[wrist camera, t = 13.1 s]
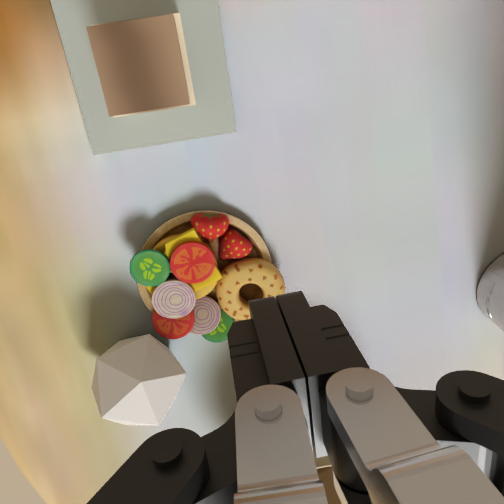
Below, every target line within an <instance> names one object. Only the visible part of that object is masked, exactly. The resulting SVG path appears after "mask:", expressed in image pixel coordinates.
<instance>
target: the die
mask: <svg viewBox="0 0 504 504" xmlns="http://www.w3.org/2000/svg"><path fill="white" fill-rule="evenodd" d="M185 375H186V372H185V371H184V369H183V368H182V366H181V365H180V363H179V362H178V361H177V359H176V358H175V356H174V355H173V353H172V352H171V351H170V349H169V348H167V347H166V346H165V345H164V344H162V343H161V342H160V341H158V340H157V339H156V338H154V337H153V336H152V335H150V334H147V335H142V336H138V337H133V338H129V339H124V340H120V341H118V342H117V343H116V344H115V345H113V346H112V347H111V348H110V349H108V350H107V351H106V352H105V353H104V354H102V355H101V356H100V357H99V358H97V360H96V366H95V372H94V377H93V383H92V390H93V393H94V396H95V399H96V402H97V405H98V408H99V412H100V415H101V418H104V419H107V420H111V421H114V422H118V423H121V424H124V425H160V423H161V421H162V420H163V418H164V417H165V415H166V413H167V412H168V410H169V409H170V407H171V405H172V404H173V402H174V400H175V399H176V396H177V394H178V392H179V389H180V387H181V385H182V382H183V380H184V378H185Z"/></svg>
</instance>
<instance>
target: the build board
mask: <svg viewBox="0 0 504 504" xmlns="http://www.w3.org/2000/svg"><path fill="white" fill-rule="evenodd" d="M50 1H51V4H52V8H53V12H54V15H55V19H56V22H57V26H58V30H59V33H60V37H61V40H62V44H63V48H64V51H65V55H66V58H67V62H68V65H69V69H70V73H71V76H72V80H73V83H74V87H75V91H76V94H77V98H78V101H79V105H80V109H81V112H82V116H83V119H84V123H85V126H86V130H87V134H88V137H89V141H90V144H91V148H92V152H93V155H97V154H103V153H109V152H115V151H122V150H128V149H134V148H140V147H147V146H153V145H159V144H165V143H172V142H178V141H184V140H190V139H197V138H203V137H209V136H215V135H222V134H228V133H234V132H237V130H236V123H235V116H234V109H233V102H232V95H231V88H230V81H229V75H228V68H227V61H226V54H225V47H224V40H223V33H222V26H221V20H220V13H219V6H218V0H50ZM173 13H180V17H181V23H182V28H183V34H184V40H185V45H186V51H187V57H188V62H189V68H190V73H191V79H192V85H193V90H194V96H195V102H196V105H191V106H185V107H179V108H172V109H166V110H159V111H153V112H146V113H140V114H133V115H127V116H120V117H114V118H113V116H111V117H109V114H108V110H107V106H106V102H105V98H104V94H103V90H102V86H101V83H100V79H99V75H98V71H97V67H96V63H95V59H94V55H93V52H92V48H91V44H90V40H89V36H88V32H87V28H86V27H87V26H90V25H95V24H102V23H109V22H116V21H123V20H130V19H138V18H145V17H152V16H159V15H166V14H173Z"/></svg>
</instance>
